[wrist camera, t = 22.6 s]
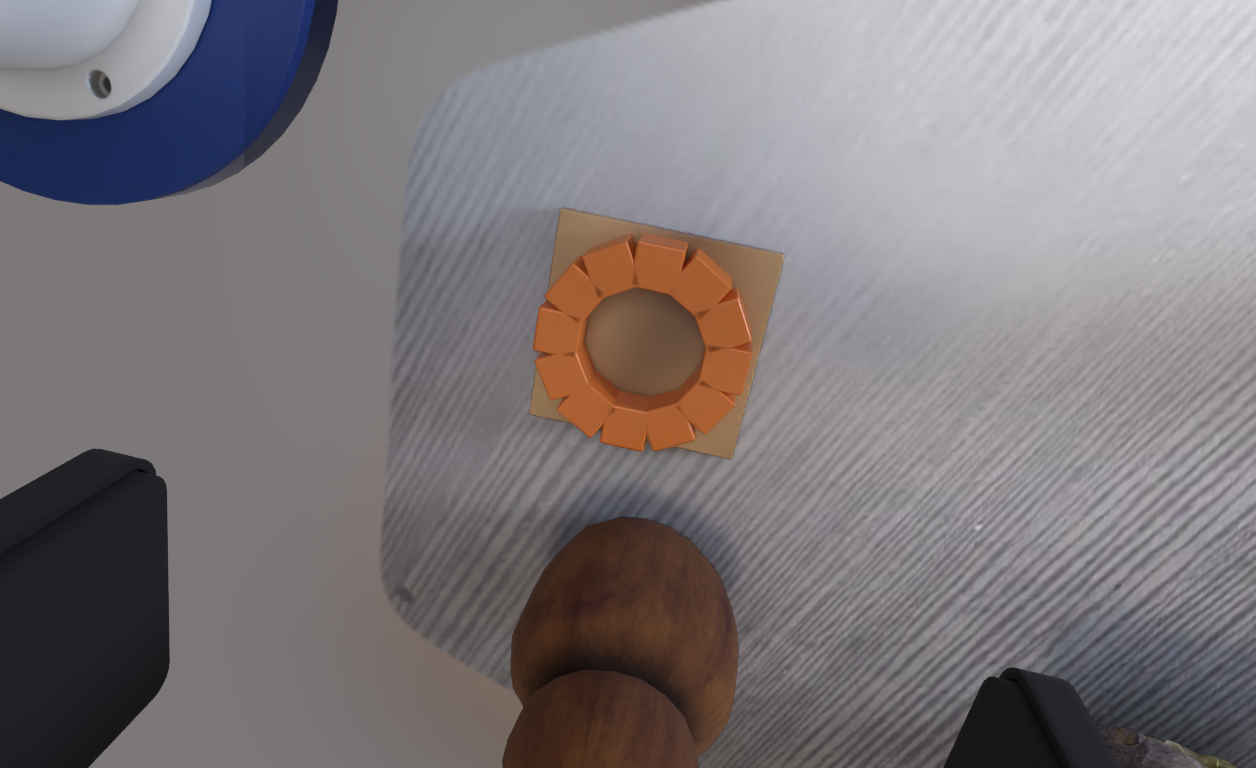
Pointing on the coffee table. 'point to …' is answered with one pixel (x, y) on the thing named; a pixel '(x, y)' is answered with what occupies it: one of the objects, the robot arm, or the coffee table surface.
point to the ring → (628, 413)
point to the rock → (1153, 751)
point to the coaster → (660, 321)
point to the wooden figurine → (623, 653)
